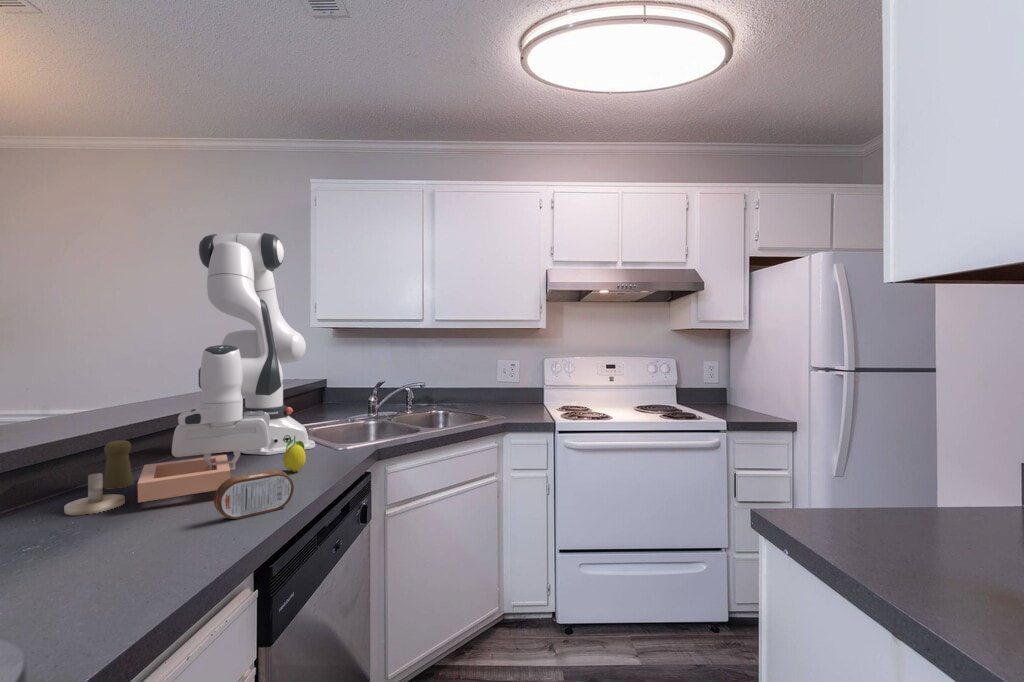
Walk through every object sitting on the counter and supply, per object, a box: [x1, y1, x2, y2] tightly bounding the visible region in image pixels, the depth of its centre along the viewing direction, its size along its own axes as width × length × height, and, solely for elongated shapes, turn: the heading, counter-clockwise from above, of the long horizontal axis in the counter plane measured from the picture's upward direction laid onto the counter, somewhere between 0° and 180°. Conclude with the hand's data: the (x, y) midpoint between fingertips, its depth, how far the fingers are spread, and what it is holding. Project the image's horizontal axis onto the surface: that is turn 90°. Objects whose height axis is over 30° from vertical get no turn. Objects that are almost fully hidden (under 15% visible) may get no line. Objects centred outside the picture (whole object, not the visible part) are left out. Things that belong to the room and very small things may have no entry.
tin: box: [213, 469, 295, 520], centre depth 104 cm, size 15×3×8 cm, turn 134°
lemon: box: [283, 435, 307, 473], centre depth 136 cm, size 7×6×10 cm
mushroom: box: [63, 472, 126, 516], centre depth 107 cm, size 10×10×7 cm
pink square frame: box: [137, 454, 232, 504], centre depth 116 cm, size 17×17×4 cm
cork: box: [103, 440, 134, 489], centre depth 123 cm, size 6×6×11 cm
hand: (222, 470), depth 120 cm, fingers closed on pink square frame, 2 cm apart
